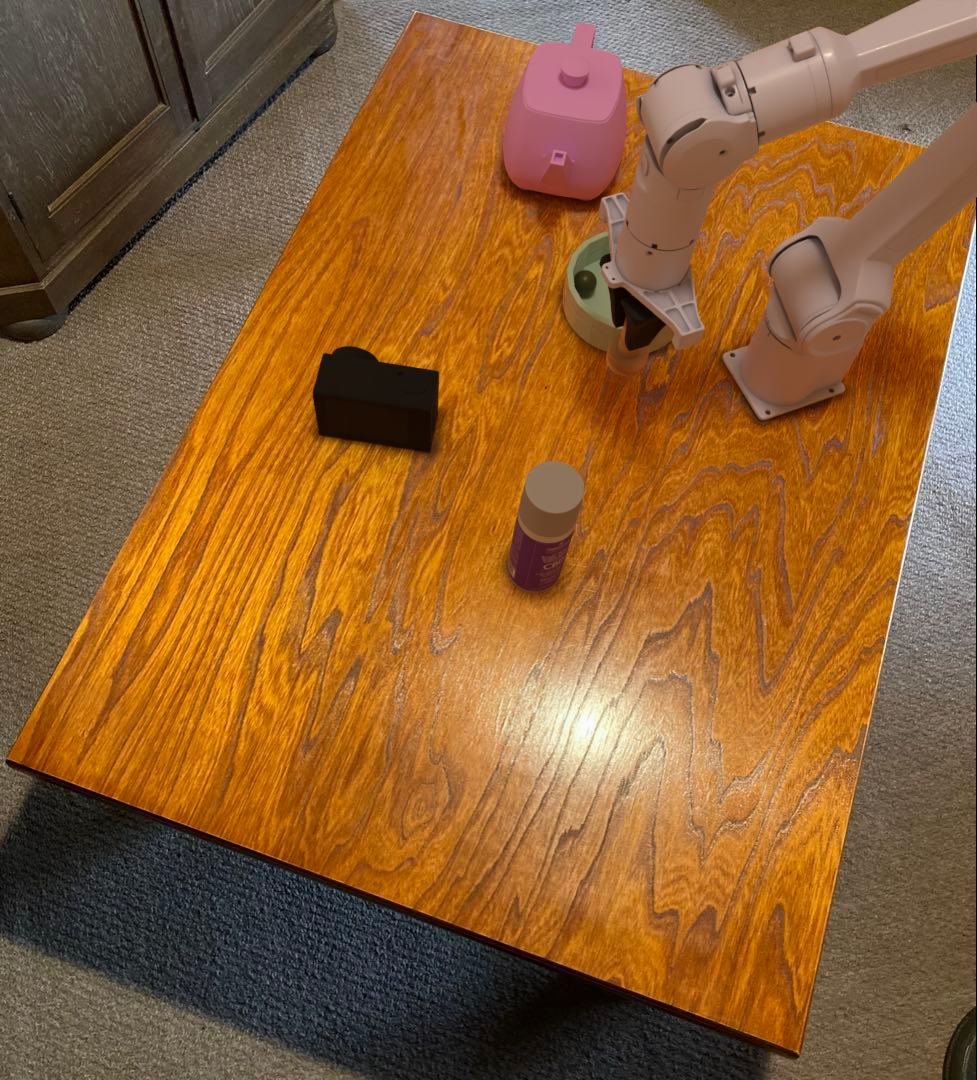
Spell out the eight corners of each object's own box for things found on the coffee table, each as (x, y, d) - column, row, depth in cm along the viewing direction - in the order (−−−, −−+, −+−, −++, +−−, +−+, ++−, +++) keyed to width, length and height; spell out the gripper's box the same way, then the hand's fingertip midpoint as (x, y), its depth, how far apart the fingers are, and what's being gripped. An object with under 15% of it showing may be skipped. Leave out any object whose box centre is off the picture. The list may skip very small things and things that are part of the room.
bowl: (650, 243, 110) (658, 215, 107) (706, 335, 105) (717, 309, 102) (542, 275, 108) (546, 248, 104) (595, 371, 103) (601, 346, 99)
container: (541, 603, 92) (564, 526, 78) (496, 574, 93) (511, 492, 79) (570, 562, 94) (598, 480, 80) (525, 534, 95) (545, 448, 81)
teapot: (518, 91, 119) (528, -13, 107) (629, 111, 118) (651, 9, 107) (484, 226, 110) (492, 129, 99) (604, 248, 110) (626, 153, 98)
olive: (569, 298, 106) (580, 284, 107) (591, 301, 105) (602, 287, 106) (566, 277, 104) (577, 263, 106) (588, 280, 103) (599, 266, 104)
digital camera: (441, 403, 100) (443, 359, 94) (431, 453, 98) (432, 410, 92) (331, 386, 100) (325, 340, 94) (318, 435, 98) (312, 391, 92)
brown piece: (645, 344, 96) (665, 278, 88) (646, 377, 95) (667, 313, 87) (605, 341, 96) (622, 275, 88) (605, 374, 95) (622, 310, 87)
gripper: (574, 165, 82) (554, 282, 94) (658, 309, 76) (625, 414, 88) (657, 143, 83) (626, 261, 96) (745, 283, 78) (701, 389, 90)
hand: (630, 333), depth 92 cm, fingers closed on brown piece, 2 cm apart
